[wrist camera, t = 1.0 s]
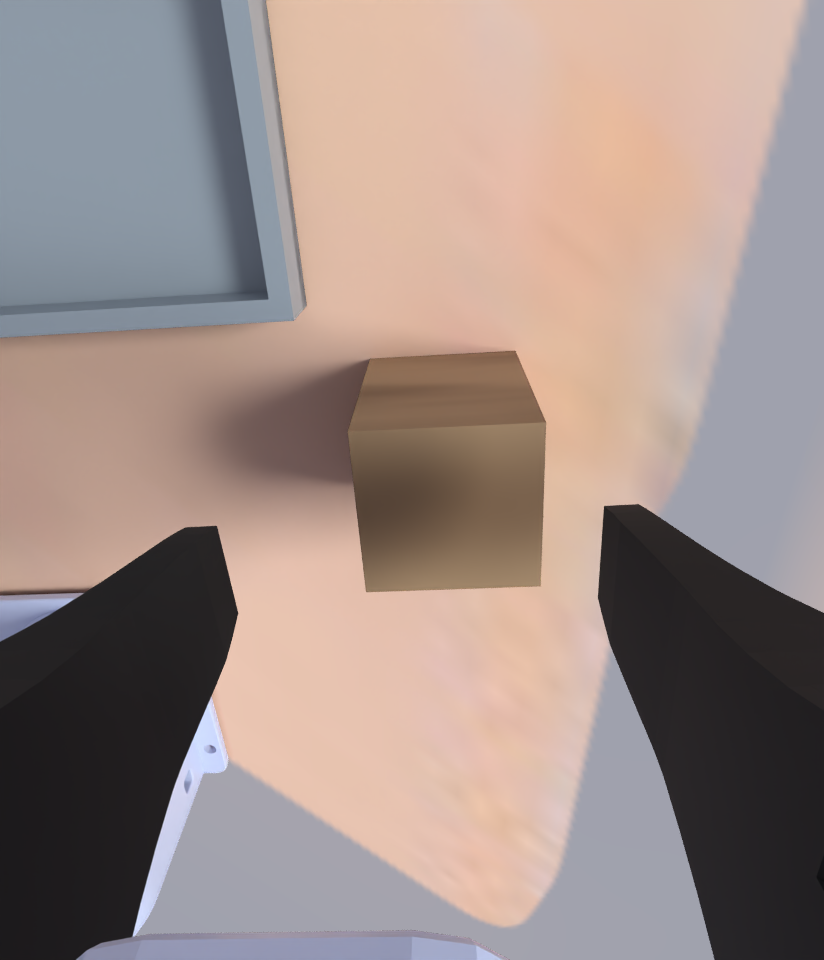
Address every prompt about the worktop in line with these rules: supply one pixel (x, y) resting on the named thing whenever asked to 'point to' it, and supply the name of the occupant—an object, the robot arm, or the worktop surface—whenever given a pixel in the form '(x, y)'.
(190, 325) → the tray
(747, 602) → the robot arm
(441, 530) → the block
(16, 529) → the worktop surface
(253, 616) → the worktop surface
